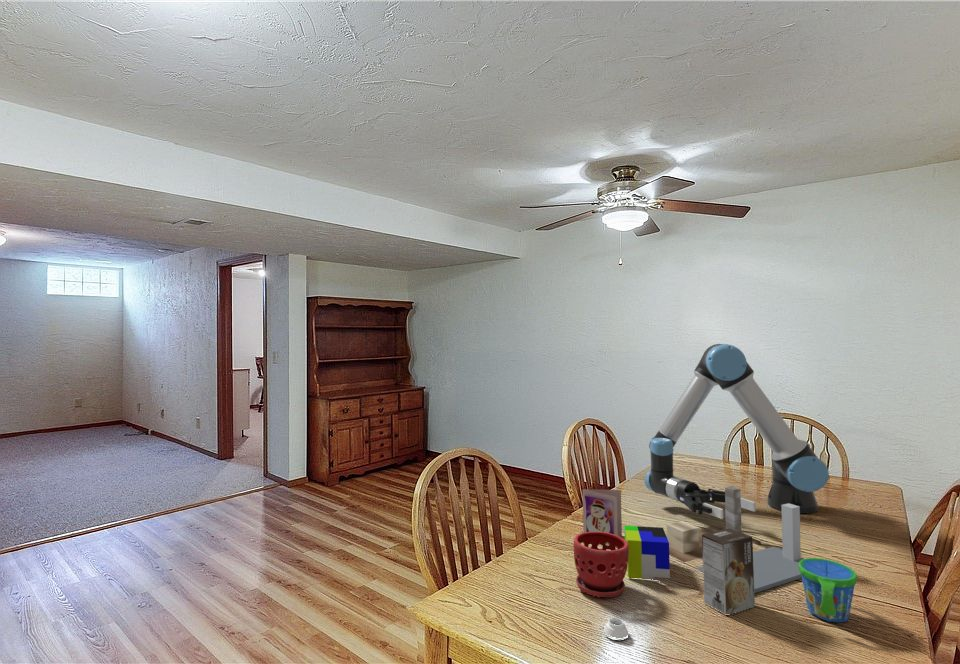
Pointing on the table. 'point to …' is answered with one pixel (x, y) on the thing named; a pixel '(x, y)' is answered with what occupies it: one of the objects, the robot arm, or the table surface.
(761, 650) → the table surface
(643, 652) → the table surface
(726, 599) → the coffee box
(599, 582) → the plant pot
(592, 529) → the greeting card
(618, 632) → the grey tapered hollow piece
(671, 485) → the robot arm
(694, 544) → the beech block
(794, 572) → the base plate with post
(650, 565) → the puzzle toy
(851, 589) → the snack cup
